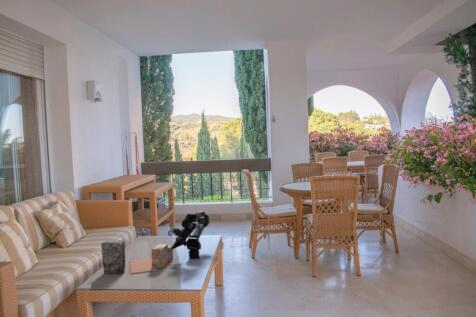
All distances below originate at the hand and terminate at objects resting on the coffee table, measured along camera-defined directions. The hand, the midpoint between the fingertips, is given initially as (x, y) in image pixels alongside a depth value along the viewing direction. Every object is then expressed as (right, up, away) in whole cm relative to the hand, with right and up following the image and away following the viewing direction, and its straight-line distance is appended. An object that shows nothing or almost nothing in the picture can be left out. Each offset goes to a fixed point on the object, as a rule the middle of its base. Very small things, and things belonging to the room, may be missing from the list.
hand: (172, 248), depth 250 cm
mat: (-18, -10, -5) cm, 21 cm away
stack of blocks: (-6, -9, -1) cm, 11 cm away
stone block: (-33, -11, -16) cm, 38 cm away
